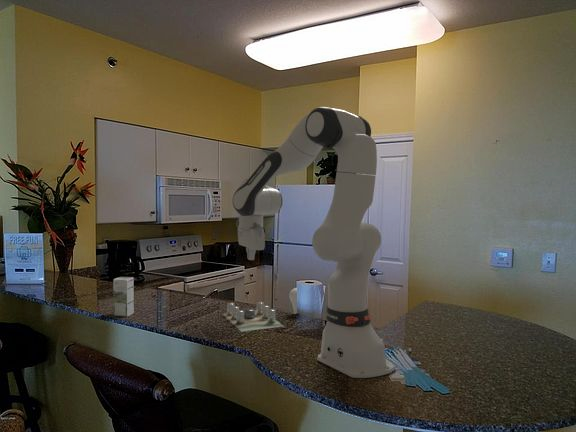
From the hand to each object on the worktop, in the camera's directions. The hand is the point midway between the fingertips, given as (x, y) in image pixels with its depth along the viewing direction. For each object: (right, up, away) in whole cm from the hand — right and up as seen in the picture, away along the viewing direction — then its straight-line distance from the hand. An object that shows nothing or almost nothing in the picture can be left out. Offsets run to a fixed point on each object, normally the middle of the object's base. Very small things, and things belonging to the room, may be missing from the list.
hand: (250, 259), depth 153 cm
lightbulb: (+17, -23, +8) cm, 30 cm away
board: (0, -23, -1) cm, 23 cm away
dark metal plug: (-1, -22, +2) cm, 22 cm away
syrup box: (-50, -23, +7) cm, 56 cm away
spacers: (0, -22, +1) cm, 22 cm away
